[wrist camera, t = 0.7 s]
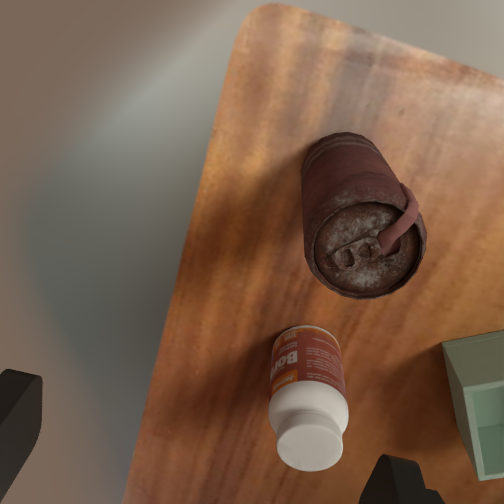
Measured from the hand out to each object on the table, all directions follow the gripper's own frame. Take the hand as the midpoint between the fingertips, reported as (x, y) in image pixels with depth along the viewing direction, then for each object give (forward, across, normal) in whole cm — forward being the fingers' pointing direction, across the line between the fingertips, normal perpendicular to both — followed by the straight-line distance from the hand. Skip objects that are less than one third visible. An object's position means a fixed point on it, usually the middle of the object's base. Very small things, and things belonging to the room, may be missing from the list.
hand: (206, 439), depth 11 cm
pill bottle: (+27, -8, +17) cm, 33 cm away
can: (+27, -6, 0) cm, 28 cm away
